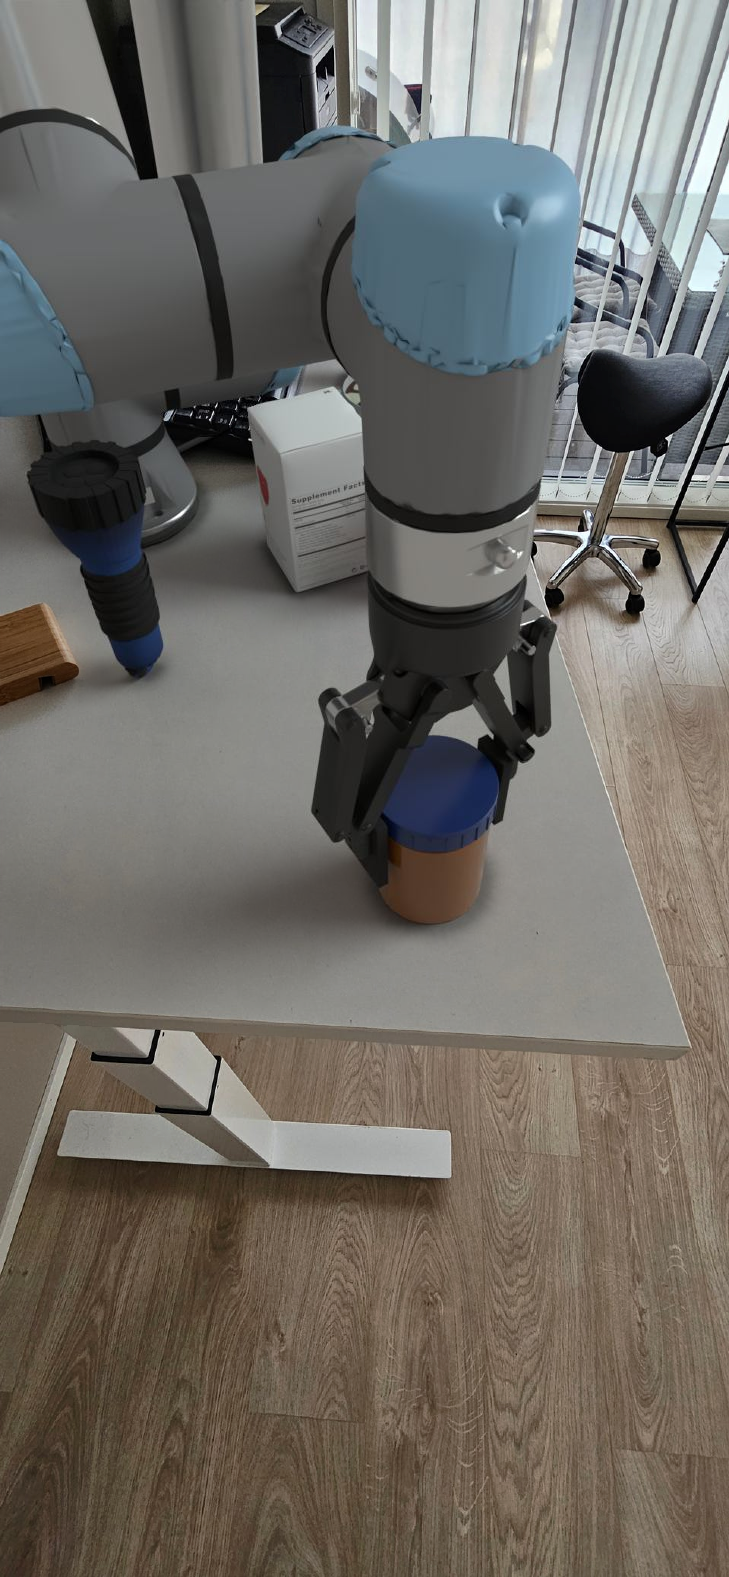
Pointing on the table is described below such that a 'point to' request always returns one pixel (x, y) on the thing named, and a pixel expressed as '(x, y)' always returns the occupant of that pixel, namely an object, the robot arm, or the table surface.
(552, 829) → the table surface
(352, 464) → the rectangular carton
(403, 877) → the jar
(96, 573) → the flashlight
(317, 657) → the table surface
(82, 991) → the table surface
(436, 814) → the jar lid
